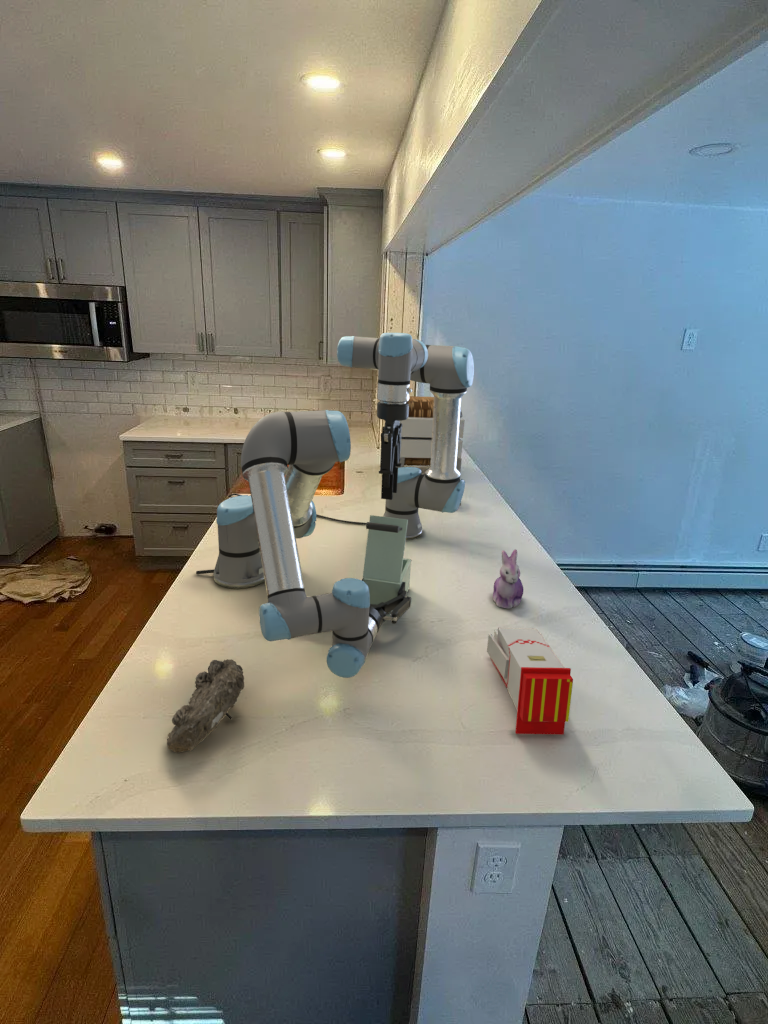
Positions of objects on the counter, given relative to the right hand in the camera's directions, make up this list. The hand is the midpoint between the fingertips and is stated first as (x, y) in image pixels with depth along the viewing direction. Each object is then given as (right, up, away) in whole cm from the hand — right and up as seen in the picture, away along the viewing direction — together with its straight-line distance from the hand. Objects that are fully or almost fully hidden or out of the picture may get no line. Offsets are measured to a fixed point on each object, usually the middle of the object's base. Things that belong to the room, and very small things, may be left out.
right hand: (389, 495), depth 141 cm
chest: (-1, -28, +14) cm, 31 cm away
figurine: (+33, -29, +15) cm, 46 cm away
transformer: (+16, +15, +134) cm, 135 cm away
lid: (-1, -14, +4) cm, 14 cm away
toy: (+28, -42, -21) cm, 55 cm away
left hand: (-1, -23, +8) cm, 25 cm away
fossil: (-34, -43, -33) cm, 64 cm away
